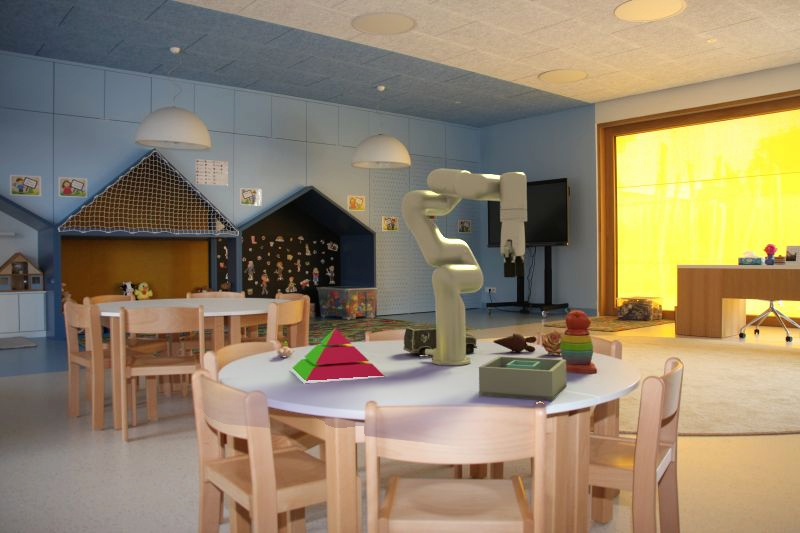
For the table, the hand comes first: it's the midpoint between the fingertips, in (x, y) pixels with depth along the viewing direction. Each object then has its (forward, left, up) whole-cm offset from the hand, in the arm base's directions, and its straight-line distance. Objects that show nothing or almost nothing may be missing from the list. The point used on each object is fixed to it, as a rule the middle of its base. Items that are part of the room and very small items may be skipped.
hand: (514, 276), depth 185 cm
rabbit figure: (-84, +7, -29) cm, 89 cm away
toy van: (-36, +33, -29) cm, 57 cm away
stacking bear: (+15, +15, -28) cm, 36 cm away
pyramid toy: (-51, -14, -29) cm, 60 cm away
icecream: (-11, +43, -29) cm, 53 cm away
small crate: (+7, -19, -27) cm, 34 cm away
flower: (+3, +41, -29) cm, 50 cm away
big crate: (+7, -19, -28) cm, 35 cm away
